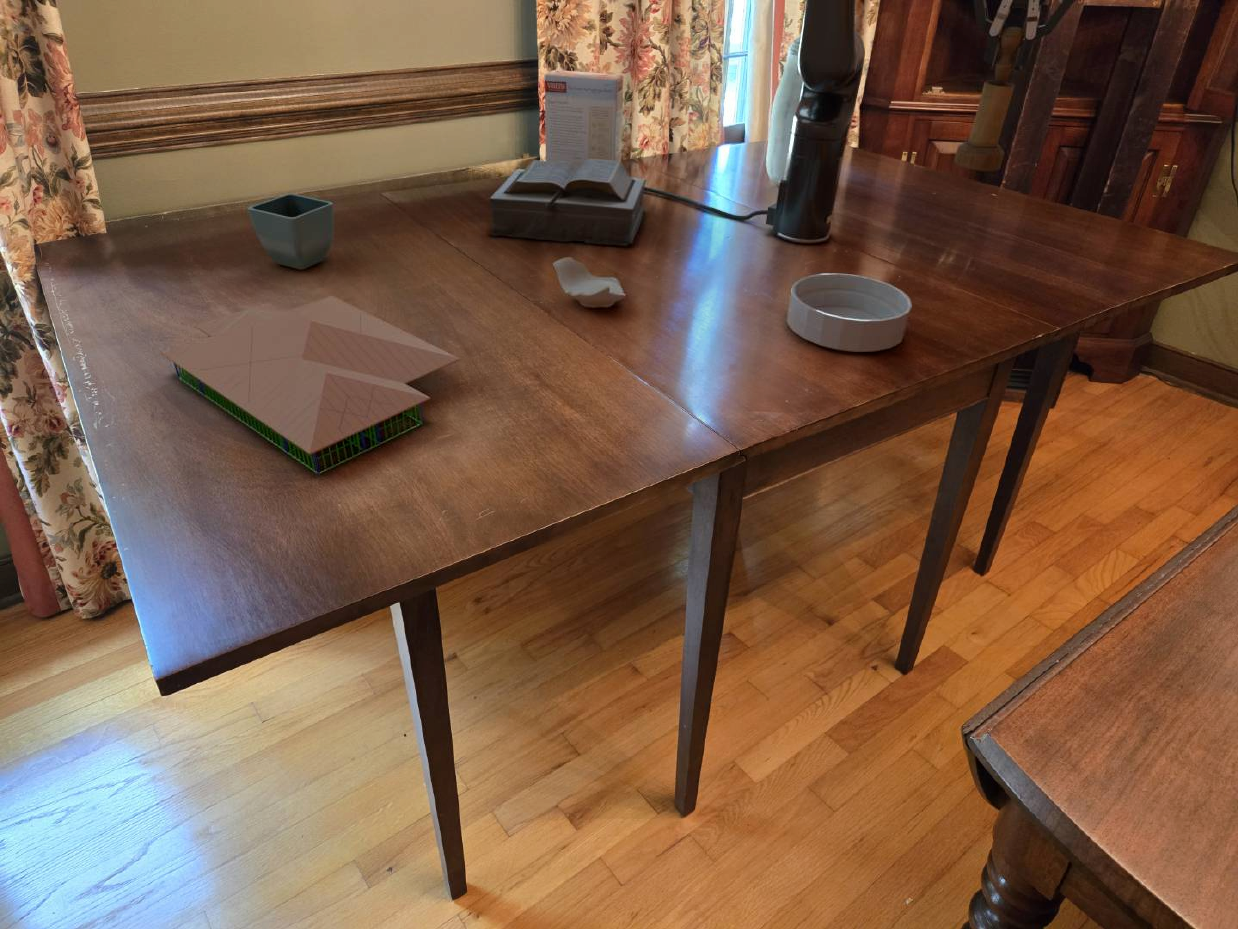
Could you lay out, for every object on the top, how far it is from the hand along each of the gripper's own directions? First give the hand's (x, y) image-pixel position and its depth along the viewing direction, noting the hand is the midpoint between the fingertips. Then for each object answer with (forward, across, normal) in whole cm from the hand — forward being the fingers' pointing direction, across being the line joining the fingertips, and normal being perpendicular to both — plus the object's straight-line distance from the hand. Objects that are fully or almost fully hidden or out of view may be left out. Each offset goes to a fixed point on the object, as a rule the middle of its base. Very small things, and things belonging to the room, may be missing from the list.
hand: (1003, 66), depth 113 cm
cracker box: (+31, +72, -11) cm, 79 cm away
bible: (+31, +63, +9) cm, 71 cm away
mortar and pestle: (+13, 0, 0) cm, 13 cm away
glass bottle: (+31, +38, -36) cm, 61 cm away
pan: (+31, +9, +26) cm, 42 cm away
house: (+31, +60, +74) cm, 100 cm away
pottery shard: (+31, +44, +36) cm, 65 cm away
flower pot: (+31, +89, +48) cm, 106 cm away
